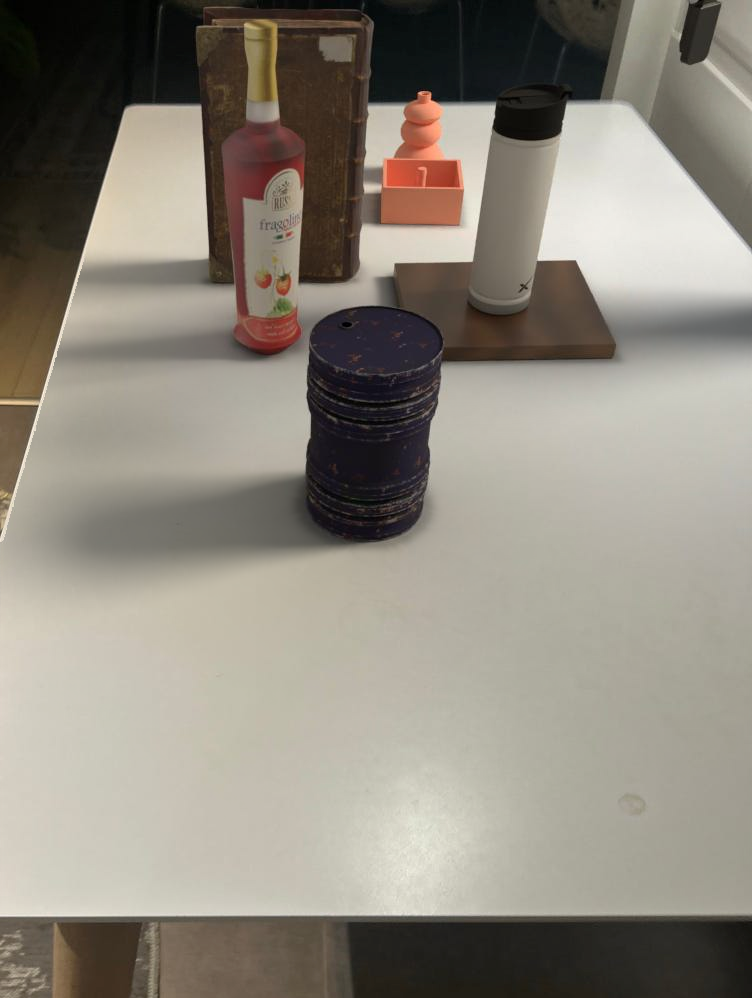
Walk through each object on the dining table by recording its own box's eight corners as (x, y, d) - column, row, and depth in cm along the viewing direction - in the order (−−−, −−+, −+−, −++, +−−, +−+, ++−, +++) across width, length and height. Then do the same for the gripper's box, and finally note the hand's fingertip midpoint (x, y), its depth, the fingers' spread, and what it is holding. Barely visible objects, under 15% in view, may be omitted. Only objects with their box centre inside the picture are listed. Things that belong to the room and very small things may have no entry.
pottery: (459, 224, 115) (470, 137, 108) (380, 223, 115) (386, 136, 108) (452, 166, 127) (462, 85, 120) (381, 165, 128) (387, 84, 120)
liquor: (257, 369, 93) (246, 43, 73) (218, 338, 97) (198, 21, 77) (318, 347, 96) (324, 26, 75) (277, 317, 100) (273, 6, 80)
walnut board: (573, 272, 106) (576, 259, 105) (613, 358, 94) (617, 344, 93) (393, 275, 106) (394, 262, 105) (409, 361, 94) (411, 347, 93)
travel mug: (537, 315, 97) (581, 99, 82) (472, 316, 97) (504, 101, 82) (525, 286, 101) (565, 75, 86) (463, 287, 101) (492, 77, 86)
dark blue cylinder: (449, 503, 79) (474, 338, 68) (369, 560, 74) (383, 392, 63) (359, 453, 84) (370, 291, 73) (280, 503, 79) (278, 338, 68)
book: (362, 262, 108) (376, 6, 90) (357, 292, 104) (371, 28, 85) (218, 255, 110) (203, 2, 92) (206, 284, 105) (188, 24, 87)
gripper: (982, -223, 53) (860, 94, 65) (771, -243, 62) (698, 41, 74) (896, -206, 51) (786, 120, 63) (688, -229, 59) (627, 62, 71)
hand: (738, 77), depth 68 cm, fingers open, 8 cm apart
